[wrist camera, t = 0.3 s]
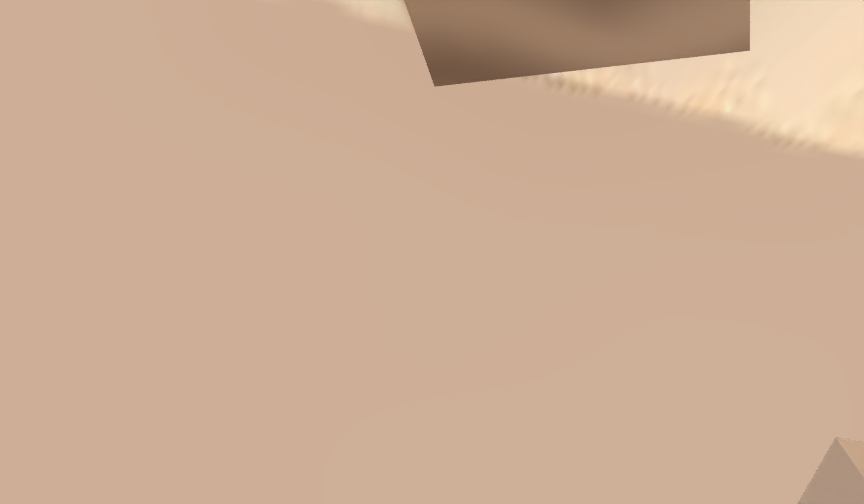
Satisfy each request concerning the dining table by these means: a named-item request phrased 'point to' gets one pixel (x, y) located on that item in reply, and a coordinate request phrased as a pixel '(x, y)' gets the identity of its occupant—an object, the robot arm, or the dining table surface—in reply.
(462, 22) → the wooden block
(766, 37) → the dining table surface
